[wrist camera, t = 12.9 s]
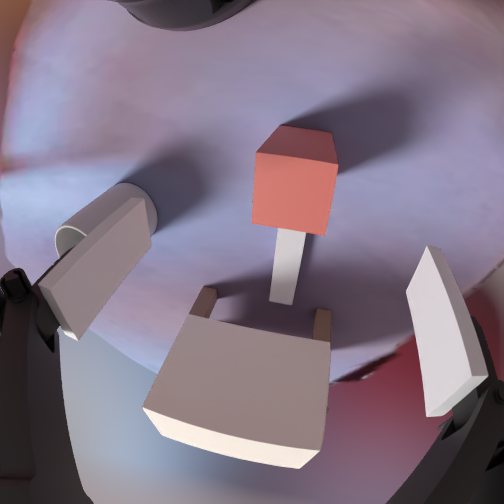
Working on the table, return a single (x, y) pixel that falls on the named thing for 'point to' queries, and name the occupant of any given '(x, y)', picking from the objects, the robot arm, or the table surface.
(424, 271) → the robot arm
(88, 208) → the mug
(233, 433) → the cabinet
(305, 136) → the red mallet
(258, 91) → the table surface
